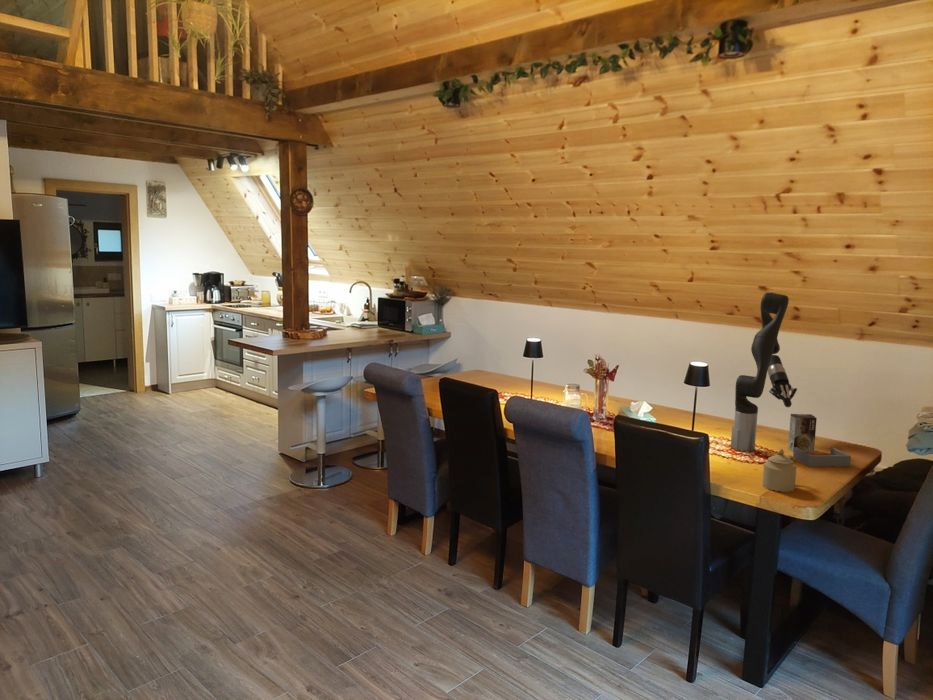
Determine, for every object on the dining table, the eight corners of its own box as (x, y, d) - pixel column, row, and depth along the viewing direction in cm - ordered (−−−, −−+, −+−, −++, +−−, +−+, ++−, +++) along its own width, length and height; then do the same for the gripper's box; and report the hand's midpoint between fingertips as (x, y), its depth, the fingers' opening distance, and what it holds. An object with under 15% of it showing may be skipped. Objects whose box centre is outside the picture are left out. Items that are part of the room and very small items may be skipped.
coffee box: (808, 448, 299) (811, 414, 297) (814, 453, 293) (817, 417, 290) (787, 448, 300) (790, 413, 297) (792, 452, 293) (795, 416, 291)
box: (808, 466, 274) (809, 456, 273) (793, 457, 286) (793, 447, 285) (849, 466, 274) (851, 456, 274) (832, 457, 287) (833, 447, 286)
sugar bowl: (760, 477, 259) (763, 440, 257) (791, 481, 256) (795, 443, 253) (763, 490, 246) (766, 451, 243) (796, 494, 242) (799, 454, 240)
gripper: (767, 370, 314) (778, 402, 303) (794, 371, 314) (806, 402, 304) (761, 379, 320) (771, 410, 309) (788, 379, 320) (799, 410, 310)
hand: (788, 406), depth 307 cm, fingers closed
